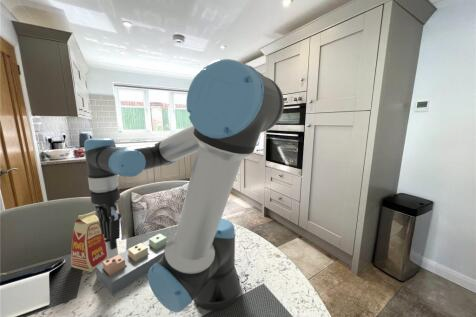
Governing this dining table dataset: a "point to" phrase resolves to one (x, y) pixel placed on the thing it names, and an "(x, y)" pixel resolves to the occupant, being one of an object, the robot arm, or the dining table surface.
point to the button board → (129, 270)
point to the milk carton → (88, 243)
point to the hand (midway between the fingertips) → (112, 255)
